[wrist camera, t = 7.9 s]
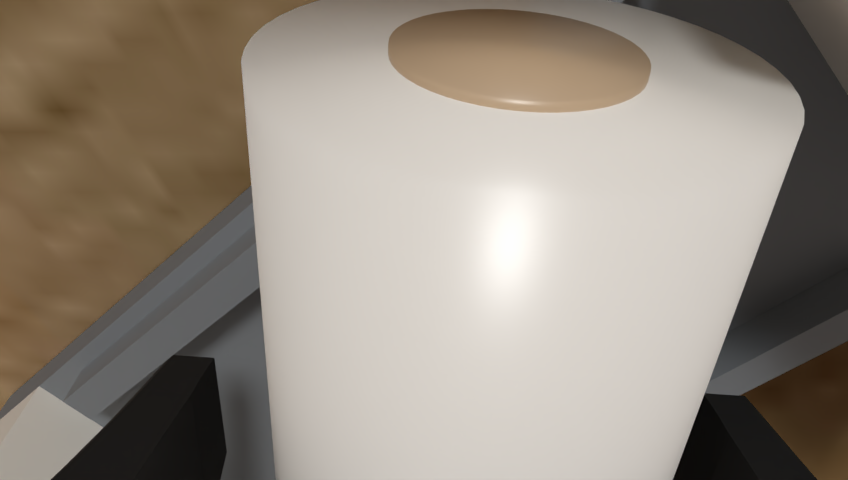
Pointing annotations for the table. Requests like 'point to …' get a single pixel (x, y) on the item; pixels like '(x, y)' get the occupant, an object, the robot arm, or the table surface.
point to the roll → (502, 232)
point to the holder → (241, 301)
